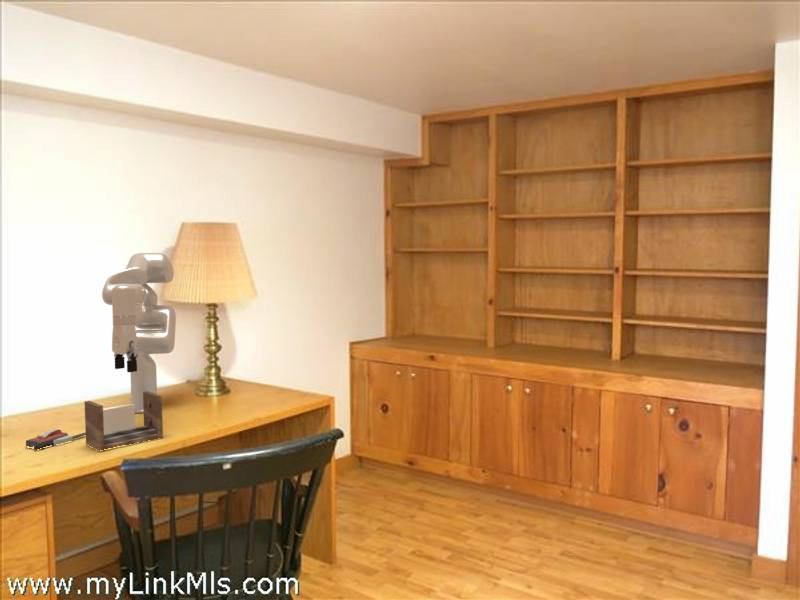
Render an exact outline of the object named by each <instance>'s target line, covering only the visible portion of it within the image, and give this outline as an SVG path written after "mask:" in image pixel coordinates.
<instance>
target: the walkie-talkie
mask: <svg viewBox="0 0 800 600" xmlns="http://www.w3.org/2000/svg"><path fill="white" fill-rule="evenodd" d="M81 436H82V437H84V436H86V431H85V432H82V433H79V434H76V435H69V434H68V432H63V431H62V430H61V429H57V428H52V429H51V430H50V429H49V430H47V431H45V432H44V433H42V434H37V435H36V437H33V438H29V439H27V440H25V447H26V446H29V447H33V446H34V449H40V448H43V447H46V446H50V445H56V444H61V443H65V442H68V441H72V440H73V439H74V440H76V439H78V437H79V438H81ZM75 438H76V439H75ZM74 440H73V441H74ZM34 449H33V450H34Z"/></svg>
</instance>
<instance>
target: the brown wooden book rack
mask: <svg viewBox="0 0 800 600" xmlns="http://www.w3.org/2000/svg"><path fill="white" fill-rule="evenodd" d="M162 397H163V395H161V394H158V393H157V394H155V393H152V392H149V391H145V392H143V408H144V413H143V426H142V425H141V426H138V427H135V428H132V429H127V430H122V431H117V432H112V433H107V434H104V422H103V409H104V405H102V404H99V403H96V402H94V401H91V400H85V401H84V423H85V425H84V426H85V432H86V435H85V445H86V444H87V445H89V446H91V447H93V448H95V449H97V450H99V451H100V450H104V449H108V448H113V447H117V446H122V445H129V444H134V443H137V442H143V441H147V442H149V441H148V440H152V441H154V440H153V439H156V440H159V439H158V438H161V439H163V438H164V433H163V432H164V431H163V430H164V429H163V398H162ZM143 443H144V442H143ZM134 445H135V444H134ZM129 446H130V445H129Z"/></svg>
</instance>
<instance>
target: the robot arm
mask: <svg viewBox="0 0 800 600" xmlns="http://www.w3.org/2000/svg"><path fill="white" fill-rule="evenodd" d="M174 276H175V271H174V266H173V263H172V261H171V260H170V259H169V257H168V256H167V255H166V254H165V253H161V252H138V253H135V254H133V255H131V257H130V259H129V261H128V263H127V265H126V266H125V269H123V270H120V271H118V272H116V273H114V274H112V275H110V276H109V277H108V278H107V279H106V281H105V282H104V285H103V288H102V293H101V297H102V300H103V302H104V303H105V304H107V305H109V306H111V308H112V326H113V327H112V333H111V336H112V337H111V341H112V342H111V350H112V353H114V354H113V356H114V369H115V370H119V369H125V355H126V357H127V360H126V372H127V373H130V396H131V397H130V399H129V400H130V402H131V403H130V404H133V405H134V410H135V414H144V408H143V392H145V391H149V392H152V393H155V394H158V382H157V379H158V377H157V363H156V362H155V360H154V358H152V357H151V355H153V354H154V355H155V354H157V355H158V354H159V355H161V354H163V355H165V354H170V353H172V352H173V351H174V349H175V342H176V325H177V324H176V323H177V321H176V320H177V315H176V310H175V308H174V307H173V306H172V305H167V304H160V305H159V304H158V300H159V299H158V293H156V291H155V290H154V288H152V287H151V286H150V285H149V284H167V283H171V282H172V281H173V279H174ZM136 328H137V329H136Z"/></svg>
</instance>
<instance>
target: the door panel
mask: <svg viewBox="0 0 800 600" xmlns="http://www.w3.org/2000/svg"><path fill="white" fill-rule="evenodd" d="M135 414H136V413H135V410H134V405H133V404H131V403H128V404H127V403H126V404H123V405H116V406H110V407H105V408H104V407H103V422H104V434H107V433H112V432H117V431H122V430H127V429H132V428H136V420H135V419H136V417H135Z"/></svg>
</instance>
